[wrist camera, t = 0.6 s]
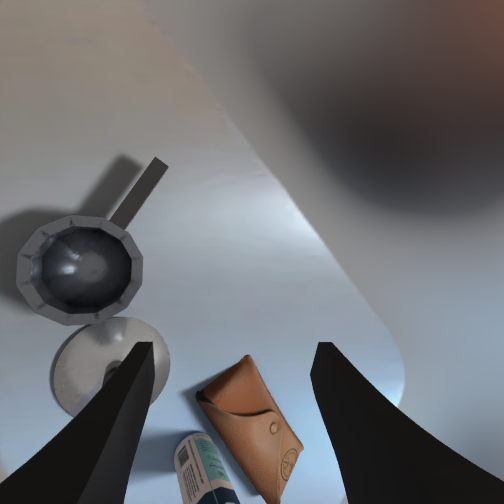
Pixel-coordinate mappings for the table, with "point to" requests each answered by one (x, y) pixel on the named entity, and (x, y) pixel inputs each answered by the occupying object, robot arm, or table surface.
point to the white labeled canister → (202, 472)
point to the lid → (104, 360)
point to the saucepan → (86, 261)
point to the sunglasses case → (252, 427)
